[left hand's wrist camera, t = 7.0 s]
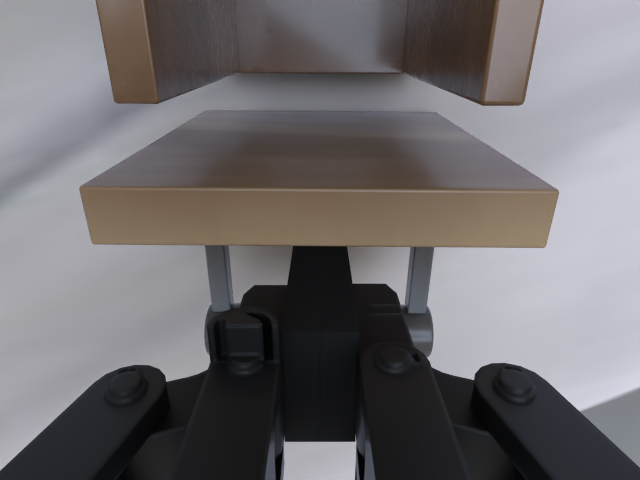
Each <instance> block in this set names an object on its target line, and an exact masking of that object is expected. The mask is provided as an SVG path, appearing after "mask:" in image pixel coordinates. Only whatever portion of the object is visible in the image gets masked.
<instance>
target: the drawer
mask: <svg viewBox="0 0 640 480" xmlns="http://www.w3.org/2000/svg"><path fill="white" fill-rule="evenodd" d="M543 3H544V0H96V4H97V10H98V15H99V20H100V26H101V31H102V37H103V42H104V48H105V53H106V59H107V64H108V69H109V75H110V80H111V86H112V91H113V97H114V101H115V103H134V104H158V103H160V102H163V101H166V100H168V99H171V98H174V97H176V96H179V95H181V94H184V93H187V92H189V91H192V90H195V89H197V88H200V87H202V86H205V85H208V84H210V83H213V82H215V81H218V80H221V79H223V78H226V77H229V76H231V75H234V74H236V73H358V74H406V75H409V76H411V77H414V78H416V79H419V80H421V81H424V82H426V83H429V84H431V85H434V86H436V87H439V88H441V89H443V90H446V91H448V92H451V93H453V94H456V95H458V96H461V97H463V98H466V99H468V100H471V101H473V102H476V103H478V104H480V105H483V106H519V105H522V104H523V103H524V101H525V95H526V90H527V85H528V80H529V75H530V70H531V65H532V59H533V54H534V49H535V44H536V39H537V34H538V28H539V23H540V18H541V13H542V8H543ZM79 190H80V194H81V198H82V203H83V207H84V211H85V215H86V220H87V224H88V228H89V232H90V237H91V241H92V243H93V244H116V245H205V250H206V258H207V267H208V276H209V284H210V293H211V302H212V304H211V305H210V307H209V309H208V312H207V316H206V321H205V334H204V335H205V346H206V350H207V353H208V354H209V355H210V352H209V344H208V335H207V326H206V325H207V324H208V322H209V321H210V320H211V319H212V318H213V317H214V316H216V315H218V314H219V313H221V312H223V311H226V310H229V309H233V308H238V307H240V304H241V303H233V291H232V280H231V269H230V258H229V247H228V245H246V246H376V247H411V248H410V258H409V268H408V278H407V287H406V297H405V305H400V306H401V308H402V311H403V316H404V317H405V320H406V323H407V326H408V329H409V332H410V335H411V338H412V341H413V344H414V347H415V348H417V349H418V350H420V351H421V352H422V353H424V354H425V356H426V357H428V356H430V354H431V351H432V347H433V322H432V316H431V313H430V310H429V308H428V306H427V299H428V291H429V283H430V275H431V268H432V260H433V252H434V247H505V248H544V247H545V246H546V243H547V239H548V235H549V231H550V227H551V223H552V219H553V215H554V211H555V207H556V203H557V199H558V195H559V191H558V190H557V189H556V188H554V187H553V186H551V185H550V184H548V183H546V182H545V181H543V180H542V179H540V178H539V177H537V176H535V175H534V174H532V173H531V172H529V171H528V170H526V169H524V168H523V167H521V166H520V165H518V164H516V163H515V162H513V161H512V160H510V159H509V158H507V157H505V156H504V155H502V154H501V153H499V152H498V151H496V150H494V149H493V148H491V147H490V146H488V145H487V144H485V143H483V142H482V141H480V140H479V139H477V138H476V137H474V136H472V135H471V134H469V133H468V132H466V131H464V130H463V129H461V128H460V127H458V126H457V125H455V124H453V123H452V122H450V121H449V120H447V119H446V118H444V117H442V116H441V115H439V114H438V113H436V112H318V111H205V112H203V113H201V114H200V115H198V116H196V117H195V118H193V119H191V120H190V121H188V122H186V123H185V124H183V125H181V126H180V127H178V128H176V129H175V130H173V131H172V132H170V133H168V134H167V135H165V136H163V137H162V138H160V139H158V140H157V141H155V142H153V143H152V144H150V145H148V146H147V147H145V148H143V149H142V150H140V151H138V152H137V153H135V154H133V155H132V156H130V157H128V158H127V159H125V160H123V161H122V162H120V163H118V164H117V165H115V166H113V167H112V168H110V169H108V170H107V171H105V172H103V173H102V174H100V175H98V176H97V177H95V178H93V179H92V180H90V181H88V182H87V183H85V184H83V185H82V186H80V189H79Z"/></svg>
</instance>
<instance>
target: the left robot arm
mask: <svg viewBox="0 0 640 480" xmlns="http://www.w3.org/2000/svg"><path fill="white" fill-rule="evenodd" d="M206 326H207V335H208V344H209V352H210V361H211V363H210V365H209V368H208V370H206V371H204V372H202V373H200V374H197V375H194V376H190V377H187V378H182V379H178V380H173V381H169V382H166V378H165V375H164V374H163V373H162V372H161V371H160V370H159V369H157V368H155V367H152V366H149V365H133V366H128V367H123V368H120V369H117V370H115V371H113V372H110V373H108V374H106V375H104V376H103V377H102V378H100V379H99V380H97V381H96V382H95V383H93V384H92V385H91V386H90V387H89V388H88V389H87V390H86V391H85V392H84V393H83V394H82V395H81V396H80V397H79V398H77V399H76V400H75V401H74V402H73V403H72V404H71V405H70V406H69V407H68V408H67V409H66V410H65V411H64V412H63V413H61V414H60V415H59V416H58V417H57V418H56V419H55V420H54V421H53V422H52V423H51V424H50V425H49V426H48V427H47V428H45V429H44V430H43V431H42V432H41V433H40V434H39V435H38V436H37V437H36V438H35V439H34V440H33V441H32V442H31V443H29V444H28V445H27V446H26V447H25V448H24V449H23V450H22V451H21V452H20V453H19V454H18V455H17V456H16V457H15V458H13V459H12V460H11V461H10V462H9V463H8V464H7V465H6V466H5V467H4V468H3V469H2V470H1V471H0V480H283V473H284V446H283V445H284V434H285V442H355V434H356V442H357V446H356V470H355V480H640V468H639V467H638V466H637V465H636V464H635V463H634V462H633V461H632V460H631V459H630V458H629V457H628V456H627V455H626V454H624V453H623V452H622V451H621V450H620V449H619V448H618V447H617V446H616V445H615V444H614V443H613V442H612V441H610V440H609V439H608V438H607V437H606V436H605V435H604V434H603V433H602V432H601V431H600V430H599V429H598V428H596V427H595V426H594V425H593V424H592V423H591V422H590V421H589V420H588V419H587V418H586V417H585V416H584V415H582V414H581V413H580V412H579V411H578V410H577V409H576V408H575V407H574V406H573V405H572V404H571V403H570V402H569V401H567V400H566V399H565V398H564V397H563V396H562V395H561V394H560V393H559V392H558V391H557V390H556V389H555V388H554V387H552V386H551V385H550V384H549V383H548V382H547V381H546V380H544V379H543V378H542V377H540V376H539V375H537V374H536V373H535V372H532V371H530V370H528V369H525V368H523V367H521V366H517V365H512V364H507V363H492V364H489V365H486V366H483V367H481V368H480V369H479V370H478V371H477V373H476V374H475V378H474V380H471V379H466V378H462V377H457V376H453V375H449V374H446V373H442V372H440V371H438V370H436V369H434V368H432V367H431V365H430V362H429V360H428V359H427V357H426V356H425V354H424V353H422V352H421V351H420V350H418V349H417V348H415V347H414V344H413V341H412V338H411V335H410V332H409V329H408V326H407V323H406V320H405V317H404V316H403V311H402V308H401V306H400V302H399V299H398V296H397V293H396V292H394V291H393V290H392V289H391V288H390V287H389V286H388V285H386V284H352V278H351V271H350V264H349V257H348V250H347V246H293V251H292V258H291V264H290V271H289V278H288V285H254V286H253V287H252V288H251V289H250V290H248V291H247V292H246V293H245V294H244V295H243V298H242V301H241V304H240V307H238V308H233V309H229V310H226V311H223V312H221V313H219V314H218V315H216V316H214V317H213V318H212V319H211V320H210V321H209V322H208V324H207V325H206Z"/></svg>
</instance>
